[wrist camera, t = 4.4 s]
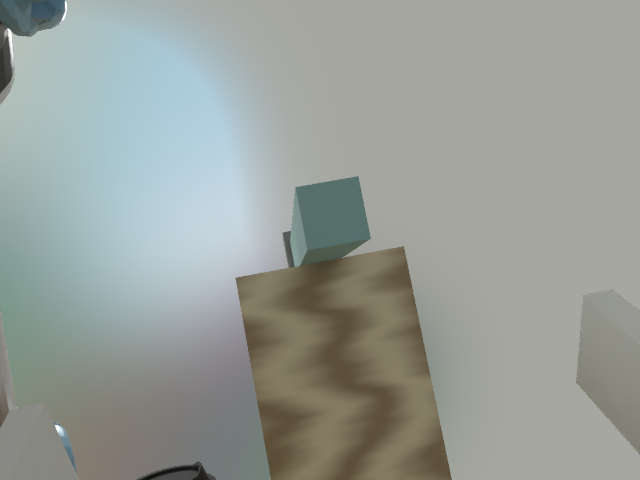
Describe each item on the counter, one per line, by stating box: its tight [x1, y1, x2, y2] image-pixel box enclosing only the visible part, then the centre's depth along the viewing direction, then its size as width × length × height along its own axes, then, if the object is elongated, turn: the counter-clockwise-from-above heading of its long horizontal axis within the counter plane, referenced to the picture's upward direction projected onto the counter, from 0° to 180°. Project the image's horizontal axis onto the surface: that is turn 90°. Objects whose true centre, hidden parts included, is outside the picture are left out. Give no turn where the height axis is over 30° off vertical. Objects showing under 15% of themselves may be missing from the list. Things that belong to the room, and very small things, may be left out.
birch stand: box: [236, 247, 452, 480], centre depth 46 cm, size 12×18×30 cm, turn 4°
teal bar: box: [283, 177, 370, 268], centre depth 40 cm, size 4×30×4 cm, turn 4°
